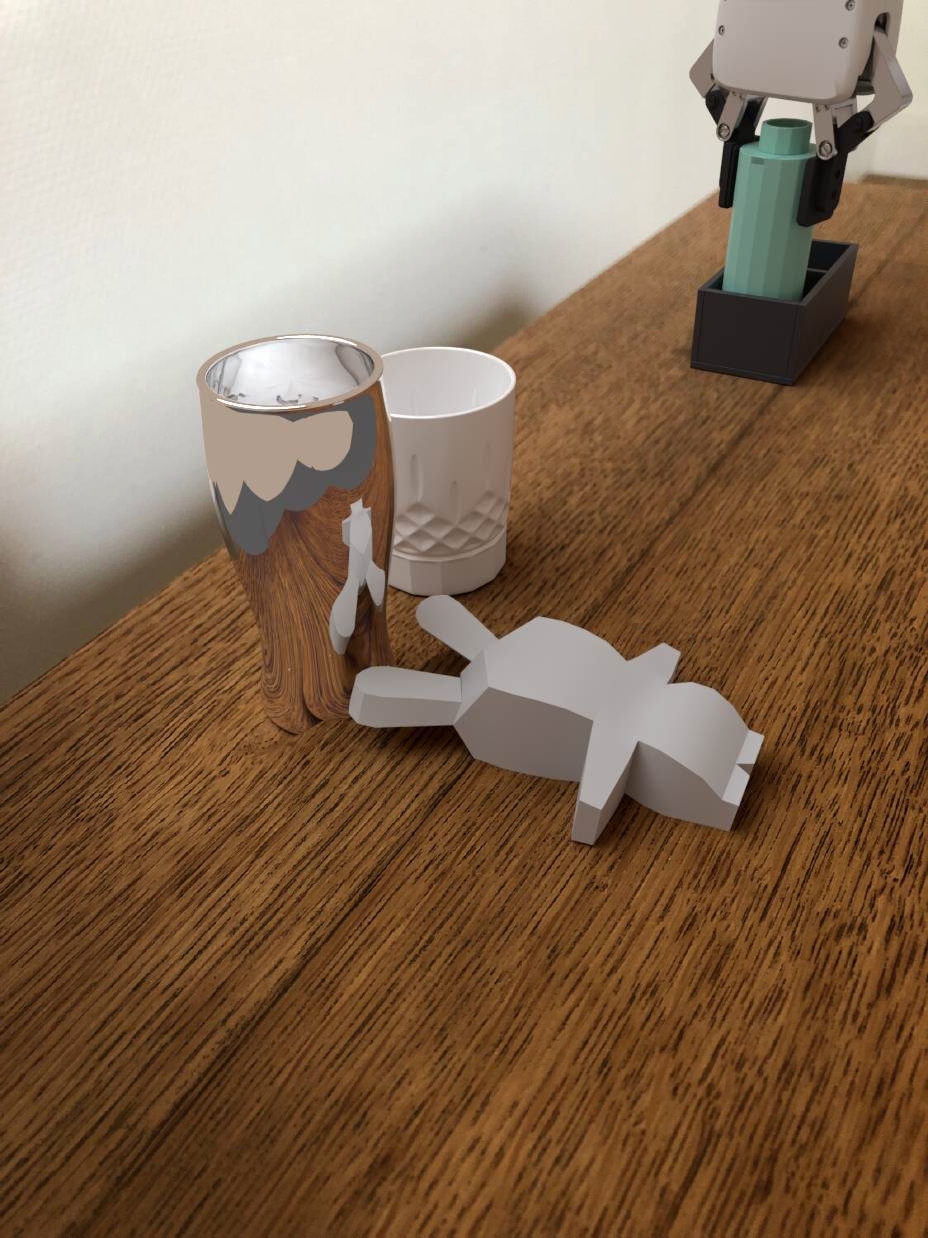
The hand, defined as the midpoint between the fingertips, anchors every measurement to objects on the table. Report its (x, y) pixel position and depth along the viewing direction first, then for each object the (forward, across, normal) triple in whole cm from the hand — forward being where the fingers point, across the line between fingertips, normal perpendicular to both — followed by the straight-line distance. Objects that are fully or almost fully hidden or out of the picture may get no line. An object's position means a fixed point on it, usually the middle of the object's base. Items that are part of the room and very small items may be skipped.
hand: (774, 209), depth 66 cm
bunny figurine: (+10, -18, +38) cm, 44 cm away
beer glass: (+10, -9, +43) cm, 45 cm away
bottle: (+7, 0, 0) cm, 7 cm away
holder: (+10, +1, -3) cm, 11 cm away
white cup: (+10, -4, +33) cm, 34 cm away
